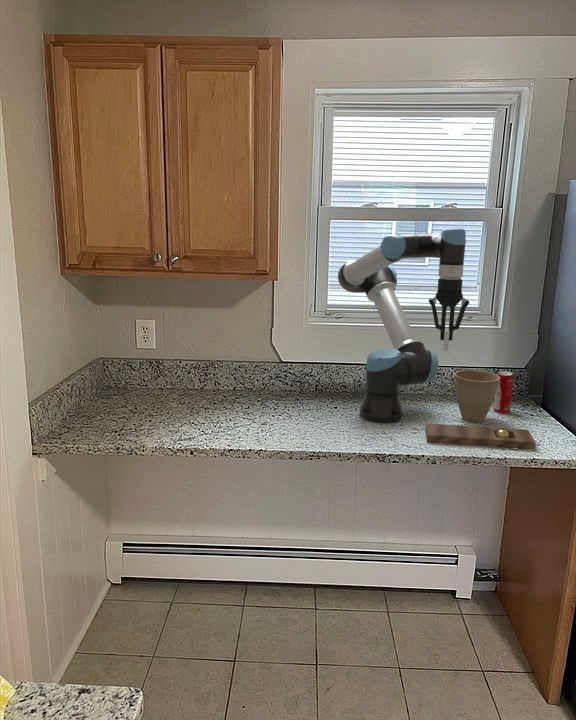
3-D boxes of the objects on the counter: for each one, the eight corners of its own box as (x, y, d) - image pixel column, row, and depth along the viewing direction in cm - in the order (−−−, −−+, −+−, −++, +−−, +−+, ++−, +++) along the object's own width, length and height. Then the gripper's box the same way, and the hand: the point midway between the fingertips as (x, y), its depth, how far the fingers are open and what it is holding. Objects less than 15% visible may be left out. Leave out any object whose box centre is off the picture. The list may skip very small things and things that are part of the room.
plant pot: (484, 429, 193) (488, 384, 189) (443, 419, 203) (447, 375, 199) (502, 418, 204) (507, 375, 200) (463, 409, 213) (466, 367, 210)
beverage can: (507, 409, 214) (511, 370, 210) (512, 415, 207) (516, 375, 204) (491, 408, 214) (494, 369, 211) (495, 414, 208) (499, 374, 204)
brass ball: (494, 441, 181) (500, 430, 180) (492, 436, 185) (497, 425, 184) (507, 445, 181) (512, 435, 180) (504, 440, 185) (509, 429, 184)
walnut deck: (426, 442, 182) (427, 435, 181) (425, 430, 192) (426, 423, 192) (534, 450, 176) (535, 442, 176) (527, 437, 187) (527, 429, 186)
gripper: (430, 278, 182) (425, 351, 188) (473, 279, 180) (467, 353, 186) (428, 276, 189) (424, 346, 195) (470, 277, 187) (464, 348, 193)
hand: (445, 349), depth 190 cm, fingers closed
